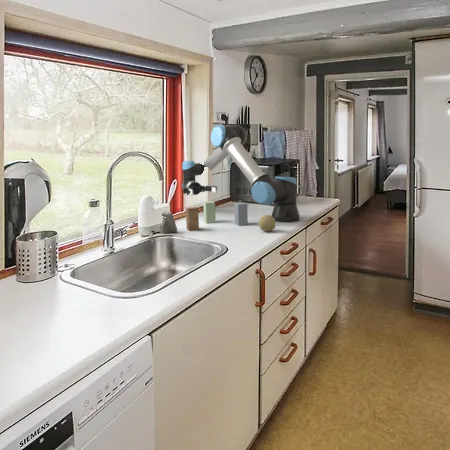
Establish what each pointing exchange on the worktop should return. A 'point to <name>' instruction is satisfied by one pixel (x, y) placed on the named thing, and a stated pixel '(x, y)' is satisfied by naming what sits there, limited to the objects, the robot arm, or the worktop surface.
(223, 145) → the robot arm
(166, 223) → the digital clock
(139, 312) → the worktop surface
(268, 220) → the potato
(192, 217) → the walnut block
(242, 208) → the slate grey block
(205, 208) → the sage green block
